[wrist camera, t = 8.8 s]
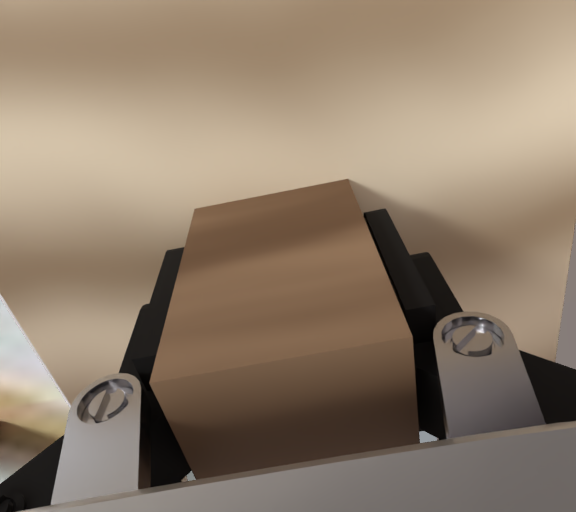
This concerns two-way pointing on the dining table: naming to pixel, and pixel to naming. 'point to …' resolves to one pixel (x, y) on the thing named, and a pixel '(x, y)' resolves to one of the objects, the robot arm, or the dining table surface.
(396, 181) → the lid
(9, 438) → the dining table surface
